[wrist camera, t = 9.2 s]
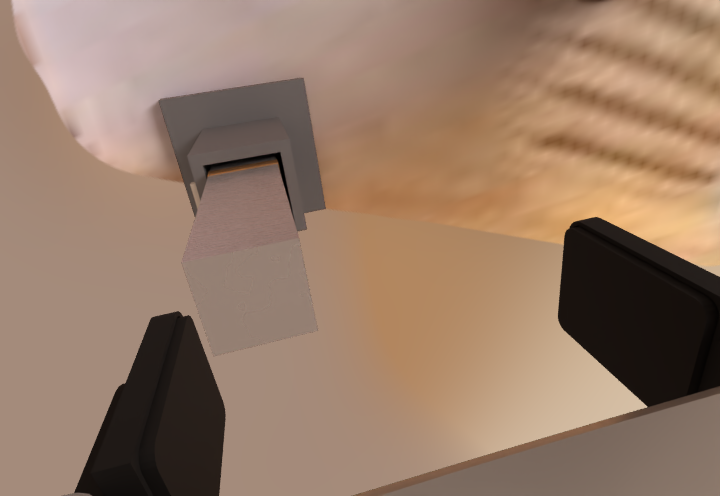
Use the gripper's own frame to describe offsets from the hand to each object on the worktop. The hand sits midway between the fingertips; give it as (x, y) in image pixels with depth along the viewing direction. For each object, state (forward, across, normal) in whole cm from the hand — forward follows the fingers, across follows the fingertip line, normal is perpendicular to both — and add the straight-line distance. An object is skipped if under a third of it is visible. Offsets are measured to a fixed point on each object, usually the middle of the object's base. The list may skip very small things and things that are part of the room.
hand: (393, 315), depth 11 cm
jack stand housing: (+36, +5, +3) cm, 37 cm away
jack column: (+28, +5, +3) cm, 28 cm away
